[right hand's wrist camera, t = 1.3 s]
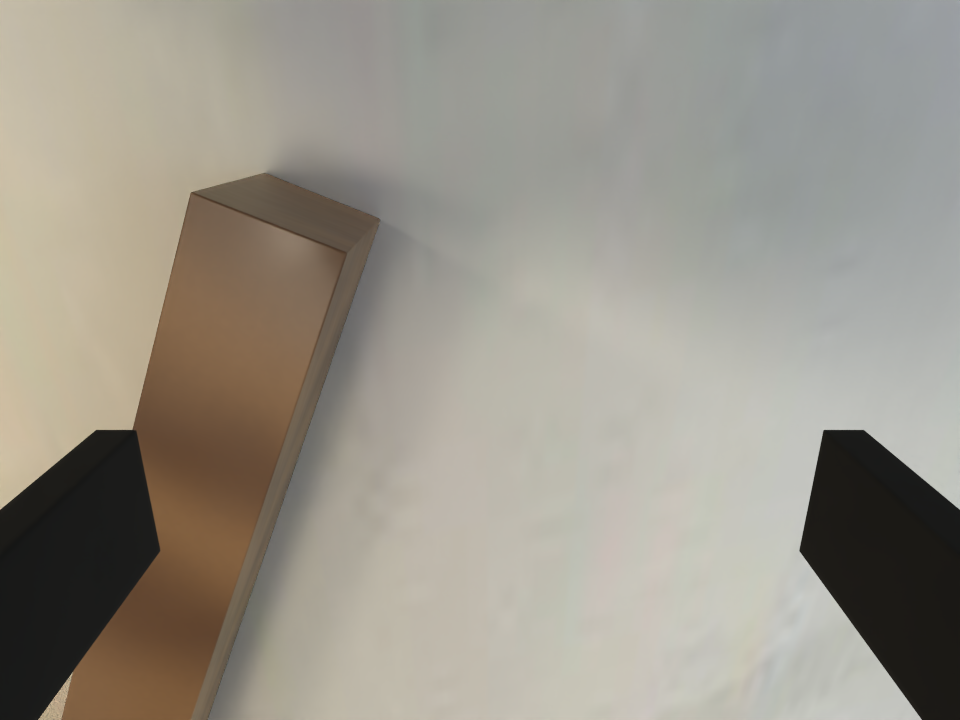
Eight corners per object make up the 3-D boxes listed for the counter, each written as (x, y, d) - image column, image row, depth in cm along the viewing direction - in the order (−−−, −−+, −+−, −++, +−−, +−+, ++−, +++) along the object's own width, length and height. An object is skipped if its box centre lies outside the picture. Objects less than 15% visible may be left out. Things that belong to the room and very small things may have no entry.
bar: (263, 172, 29) (190, 191, 22) (380, 218, 30) (347, 252, 22) (51, 933, 47) (-29, 1084, 39) (127, 951, 47) (62, 1103, 40)
